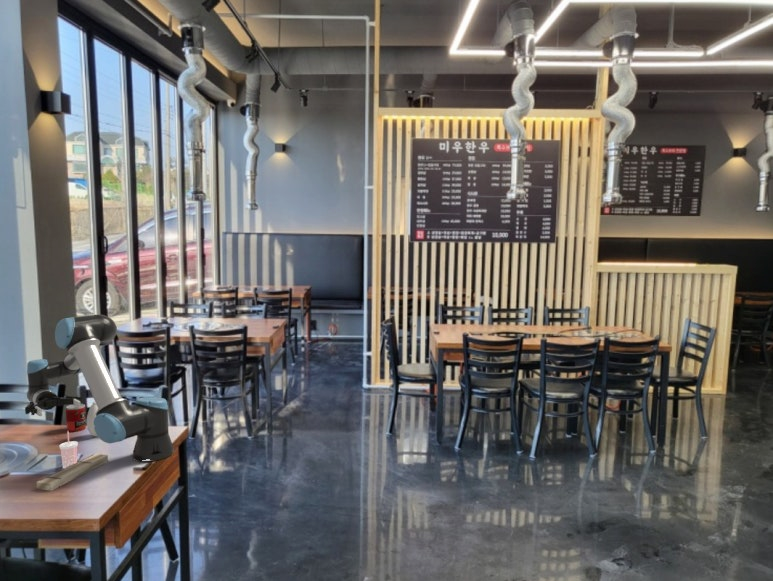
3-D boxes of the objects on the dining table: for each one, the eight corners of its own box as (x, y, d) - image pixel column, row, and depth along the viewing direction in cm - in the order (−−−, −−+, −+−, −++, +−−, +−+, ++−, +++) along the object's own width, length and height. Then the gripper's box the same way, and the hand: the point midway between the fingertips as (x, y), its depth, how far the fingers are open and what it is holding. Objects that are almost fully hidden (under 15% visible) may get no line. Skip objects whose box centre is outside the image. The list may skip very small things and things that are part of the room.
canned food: (77, 432, 238) (76, 408, 237) (62, 431, 240) (61, 407, 239) (90, 427, 246) (89, 404, 245) (75, 425, 247) (74, 403, 247)
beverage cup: (71, 462, 204) (70, 427, 203) (82, 465, 202) (81, 429, 201) (56, 468, 199) (54, 432, 198) (67, 471, 196) (66, 434, 195)
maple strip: (107, 461, 206) (107, 454, 206) (51, 490, 181) (50, 483, 180) (95, 459, 207) (94, 453, 207) (37, 488, 182) (36, 481, 182)
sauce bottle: (85, 435, 234) (83, 396, 233) (104, 431, 240) (102, 392, 238) (89, 440, 229) (87, 399, 227) (109, 435, 234) (107, 396, 233)
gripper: (78, 401, 232) (95, 410, 217) (10, 415, 214) (23, 425, 199) (77, 385, 231) (94, 393, 217) (9, 397, 213) (22, 406, 199)
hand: (60, 408), depth 208 cm, fingers open, 13 cm apart
